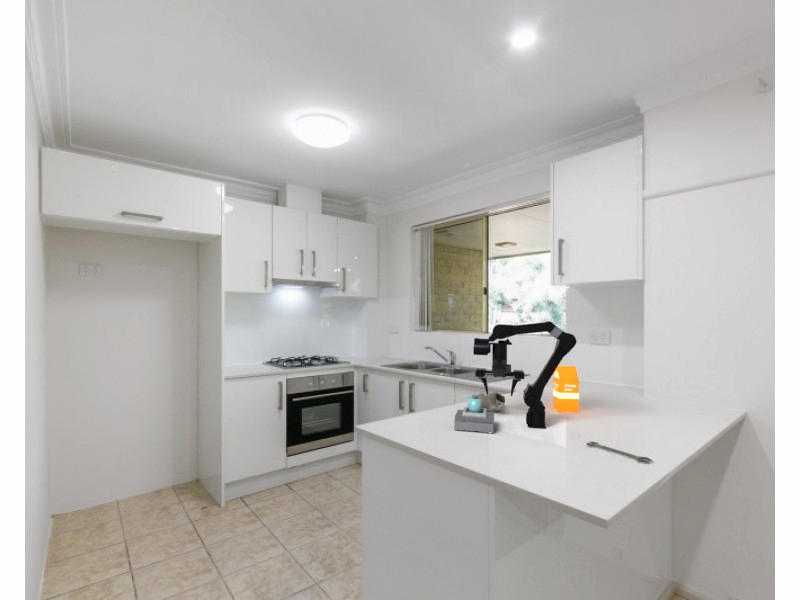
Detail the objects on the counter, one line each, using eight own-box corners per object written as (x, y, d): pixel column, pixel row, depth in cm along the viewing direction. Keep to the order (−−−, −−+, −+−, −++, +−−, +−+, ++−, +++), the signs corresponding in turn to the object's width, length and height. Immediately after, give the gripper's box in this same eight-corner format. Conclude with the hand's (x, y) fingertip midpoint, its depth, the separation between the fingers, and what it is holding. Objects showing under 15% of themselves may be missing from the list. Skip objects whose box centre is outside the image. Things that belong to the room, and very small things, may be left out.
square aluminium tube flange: (493, 424, 161) (494, 407, 161) (493, 434, 149) (493, 415, 149) (457, 421, 164) (458, 405, 164) (454, 430, 152) (454, 412, 152)
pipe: (482, 430, 181) (512, 416, 175) (470, 417, 178) (500, 402, 172) (479, 404, 195) (507, 390, 190) (468, 392, 192) (496, 377, 187)
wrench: (654, 463, 123) (592, 444, 140) (654, 457, 123) (592, 439, 140) (646, 467, 120) (583, 448, 137) (646, 462, 120) (583, 443, 137)
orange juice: (579, 412, 182) (579, 367, 183) (559, 412, 182) (559, 366, 183) (571, 408, 190) (572, 364, 190) (552, 408, 190) (553, 364, 191)
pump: (481, 413, 158) (481, 394, 159) (481, 416, 154) (481, 397, 154) (468, 412, 160) (468, 394, 160) (467, 415, 155) (467, 396, 155)
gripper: (474, 357, 158) (474, 398, 158) (525, 359, 154) (525, 401, 153) (476, 354, 169) (475, 392, 168) (523, 356, 164) (523, 395, 164)
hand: (499, 395), depth 163 cm, fingers open, 9 cm apart
